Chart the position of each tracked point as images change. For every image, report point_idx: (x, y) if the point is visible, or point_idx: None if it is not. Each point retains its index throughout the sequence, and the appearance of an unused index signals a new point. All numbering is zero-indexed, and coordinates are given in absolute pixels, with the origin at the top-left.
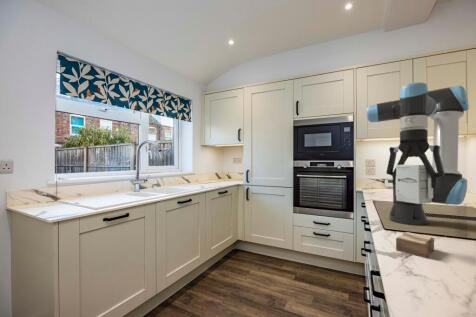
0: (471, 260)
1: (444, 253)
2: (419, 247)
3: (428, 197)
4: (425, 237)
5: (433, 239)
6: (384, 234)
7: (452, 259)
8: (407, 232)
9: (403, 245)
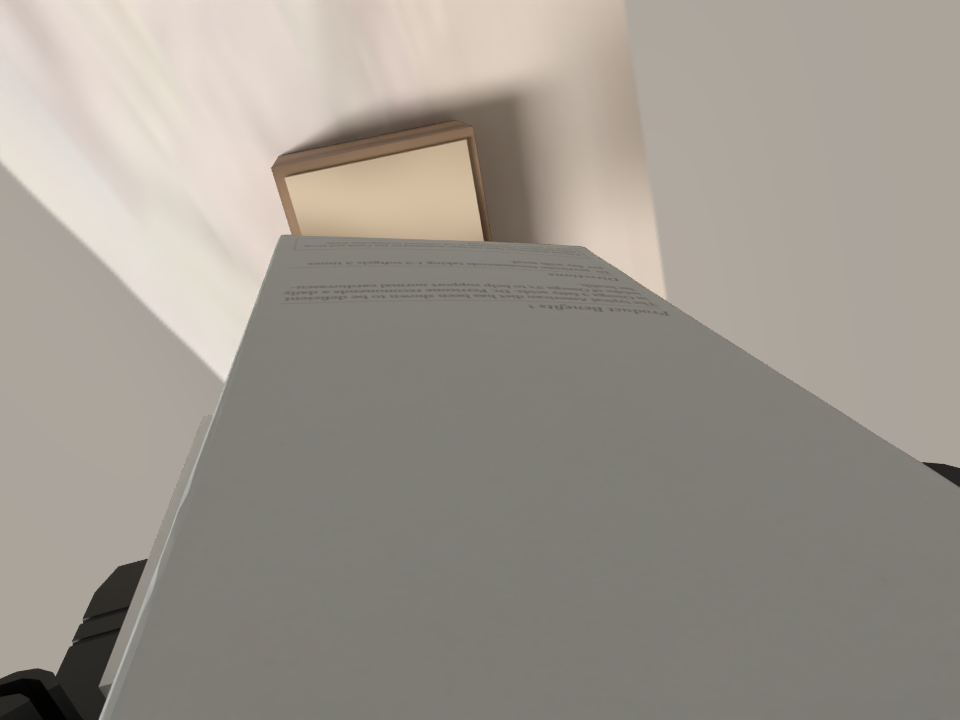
0: (640, 117)
1: (515, 129)
2: None
3: None
4: (444, 201)
5: (474, 144)
6: (9, 56)
7: (574, 204)
8: (297, 184)
9: None
